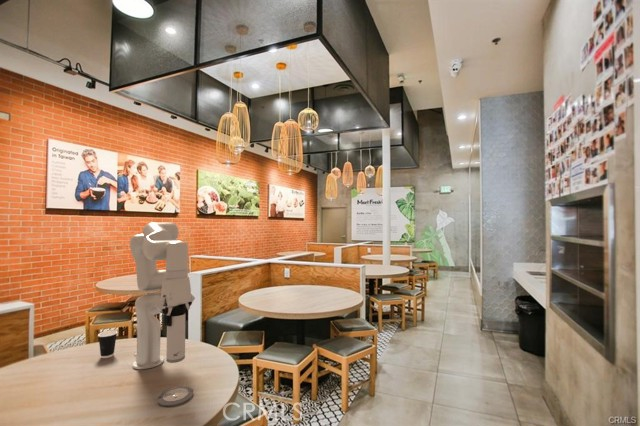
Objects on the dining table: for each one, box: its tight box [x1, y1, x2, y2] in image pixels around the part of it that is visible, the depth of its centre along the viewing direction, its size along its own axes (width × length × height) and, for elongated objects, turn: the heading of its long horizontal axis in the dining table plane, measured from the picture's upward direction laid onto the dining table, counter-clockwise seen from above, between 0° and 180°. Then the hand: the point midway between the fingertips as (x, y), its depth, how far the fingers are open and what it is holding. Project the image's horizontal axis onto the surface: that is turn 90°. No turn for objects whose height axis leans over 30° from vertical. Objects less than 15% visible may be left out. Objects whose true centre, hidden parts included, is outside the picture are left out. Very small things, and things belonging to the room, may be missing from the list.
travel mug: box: [165, 305, 186, 364], centre depth 115 cm, size 6×7×20 cm
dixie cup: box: [97, 330, 118, 359], centre depth 151 cm, size 8×8×11 cm
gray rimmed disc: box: [157, 385, 194, 408], centre depth 114 cm, size 12×12×1 cm
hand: (176, 322), depth 115 cm, fingers closed on travel mug, 6 cm apart
